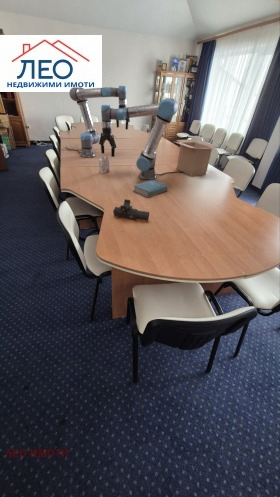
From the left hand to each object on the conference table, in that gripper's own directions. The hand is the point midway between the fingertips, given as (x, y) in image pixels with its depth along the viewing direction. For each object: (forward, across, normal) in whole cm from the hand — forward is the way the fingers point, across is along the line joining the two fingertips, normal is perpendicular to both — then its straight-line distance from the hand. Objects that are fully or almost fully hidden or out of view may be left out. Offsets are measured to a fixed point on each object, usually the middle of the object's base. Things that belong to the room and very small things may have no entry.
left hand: (122, 128), depth 235 cm
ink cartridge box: (+30, +25, -48) cm, 62 cm away
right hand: (+12, +36, -52) cm, 65 cm away
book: (+30, +85, -50) cm, 104 cm away
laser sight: (+30, +106, -95) cm, 145 cm away
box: (+30, +78, +24) cm, 87 cm away
